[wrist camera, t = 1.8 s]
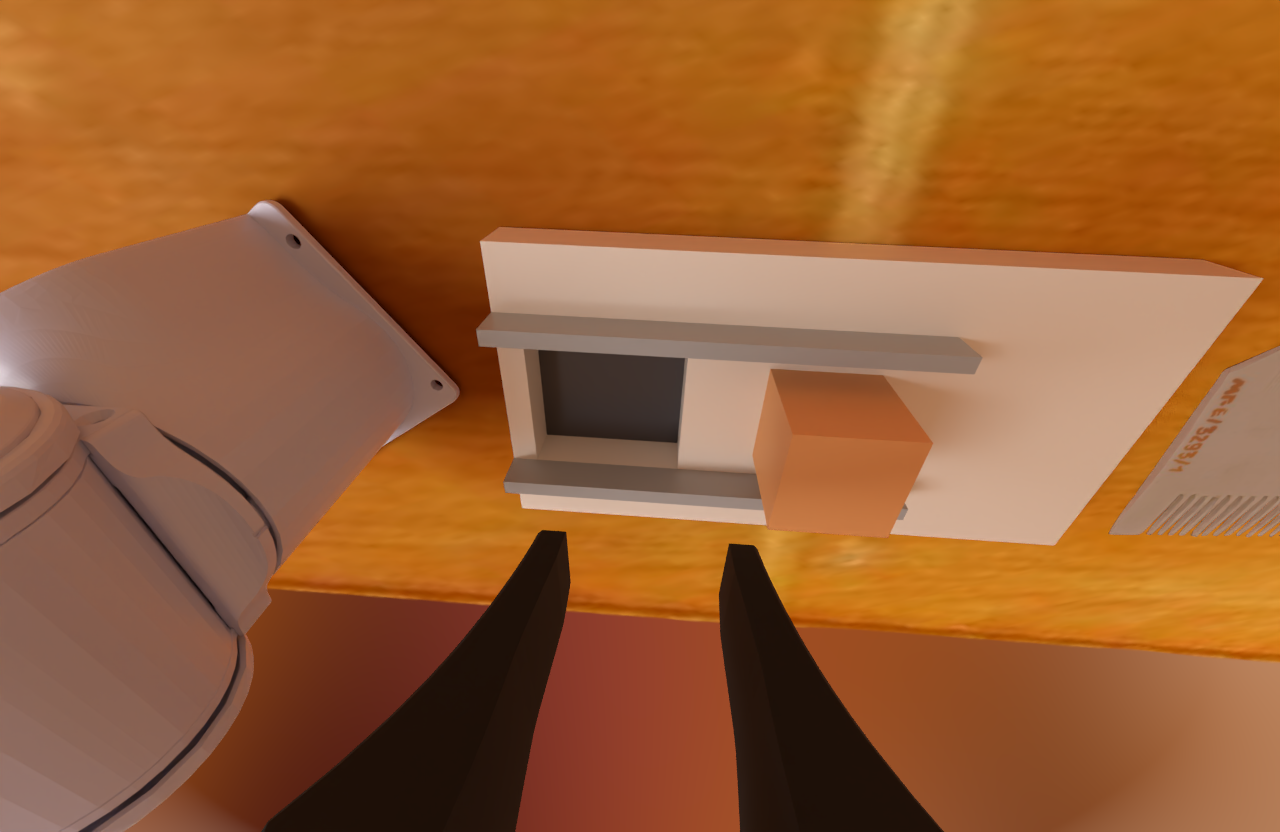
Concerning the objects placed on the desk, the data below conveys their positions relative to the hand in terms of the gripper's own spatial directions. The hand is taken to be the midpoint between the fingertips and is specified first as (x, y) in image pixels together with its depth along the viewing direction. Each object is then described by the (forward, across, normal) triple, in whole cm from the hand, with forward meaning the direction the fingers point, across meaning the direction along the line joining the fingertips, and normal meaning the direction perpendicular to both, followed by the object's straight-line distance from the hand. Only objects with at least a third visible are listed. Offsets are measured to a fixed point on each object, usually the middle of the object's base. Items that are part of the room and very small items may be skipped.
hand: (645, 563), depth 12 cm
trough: (+9, -6, 0) cm, 11 cm away
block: (+7, -6, 0) cm, 10 cm away
